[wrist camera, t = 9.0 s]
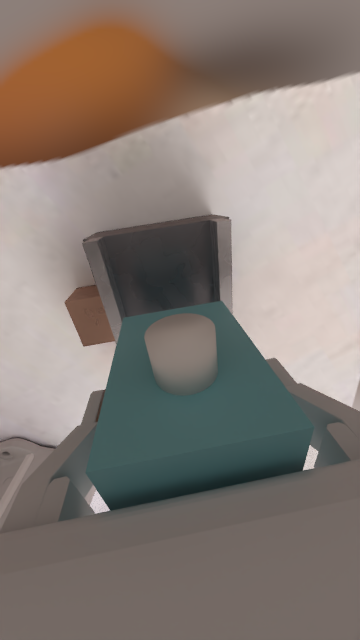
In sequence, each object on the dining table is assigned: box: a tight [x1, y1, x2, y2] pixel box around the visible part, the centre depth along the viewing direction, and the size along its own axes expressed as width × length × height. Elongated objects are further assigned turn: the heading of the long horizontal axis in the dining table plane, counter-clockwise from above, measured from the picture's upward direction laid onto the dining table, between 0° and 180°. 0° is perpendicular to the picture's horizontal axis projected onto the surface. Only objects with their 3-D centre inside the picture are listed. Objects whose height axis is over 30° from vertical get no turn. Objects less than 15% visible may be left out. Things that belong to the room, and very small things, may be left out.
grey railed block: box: [65, 215, 232, 346], centre depth 17 cm, size 12×12×6 cm
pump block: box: [85, 301, 314, 511], centre depth 8 cm, size 5×6×7 cm
